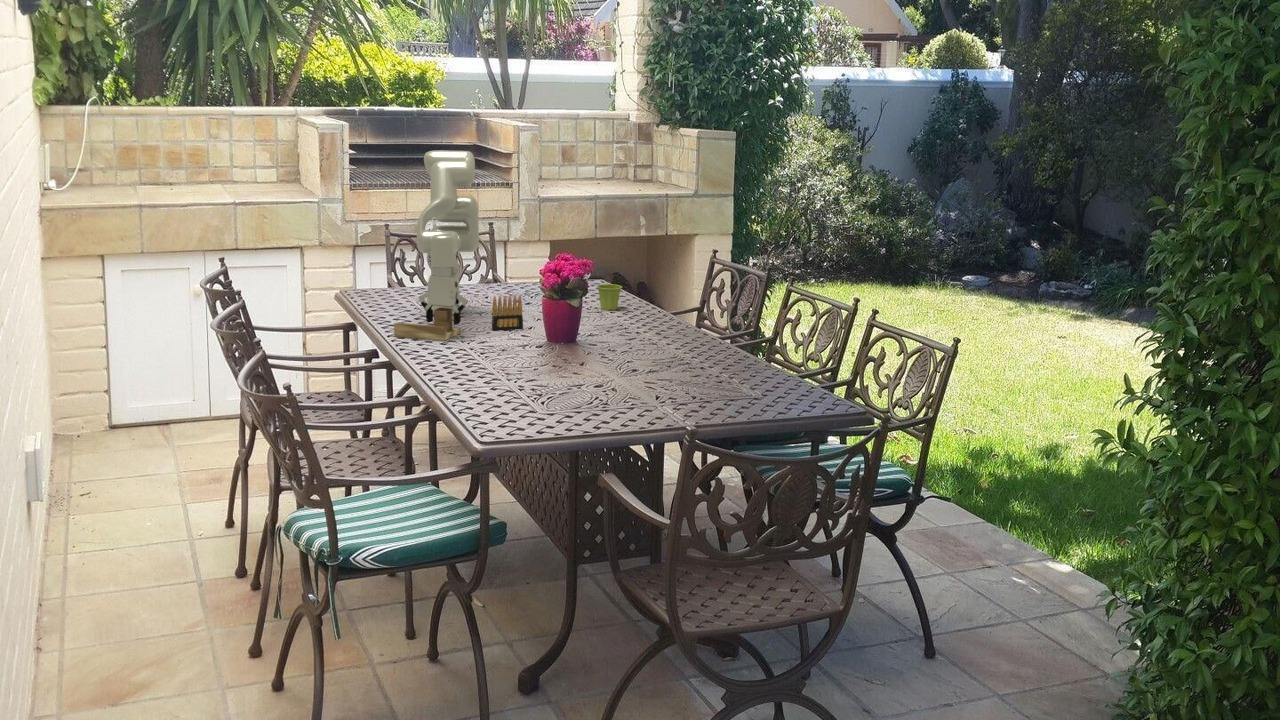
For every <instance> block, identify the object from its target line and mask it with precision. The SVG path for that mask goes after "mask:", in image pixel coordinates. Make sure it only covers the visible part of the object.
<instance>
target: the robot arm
mask: <svg viewBox="0 0 1280 720" xmlns="http://www.w3.org/2000/svg"><path fill="white" fill-rule="evenodd" d="M423 155H424V157H423V163H424V167H425V170H426V172H427V173H428V175H429V178H430V201H429V202H430V203H429V204H428V205H427V206H425V208H424V209H423V210H422V212H421V213H420V215H419V217H418V219H417V223H416V224H417V225H416V246H417V249H418V251H419V252H420V253H423V254H430V270H431V271H430V275H429V276H428V277H429V278H428V281H427V292H426V293H423V294H421V295H419V296H418V300H419V302H420V305H421V306H422V307H423V308H424V311H426V312H425V318H426V322H427V323H431V322H434V310H436V309H438V308H450V309H452V316H454V322H453V325H455V326H456V325H458V324H460V323H461V321H462V320H461V319H462V318H461V316H462V315H461V314H463V313H464V312H465V308H466V306H467V304H468V302H469V300H468V298H466V297H464V296H463V295H461V294H460V263H459V261H458V260H457V258H456V257H455V253H472V252H473V253H474V252H476V251H477V250H478V248H479V242H480V241H479V239H480V235H479V234H480V233H479V231H480V229H479V228H480V227H479V226H480V225H479V224H480V222H479V206H478V205H479V203H478V202H477V199H476V198H475V197H473V196H471V195H458V191H457V189H458V186H459V187H461V186H462V187H465V186H466V187H470V186H472V184H473V183H474V179H475V173H476V171H475V170H476V168H475V167H476V161H475V156H474V154H473V153H472V152H471V151H467V150H447V149H446V150H443V149H440V150H430V151H427V152H425V153H424V154H423ZM433 218H434V219H435V220H436V222H440V223H463V224H464V225H450V224H449V225H448V224H447V225H443V224H442V225H436V226H434V227H432V228H431V230H426V226H427V224H428V222H429V221H431V220H432V219H433ZM425 298H426V299H427V302H426V300H425Z"/></svg>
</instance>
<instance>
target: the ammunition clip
mask: <svg viewBox="0 0 1280 720" xmlns="http://www.w3.org/2000/svg"><path fill="white" fill-rule="evenodd" d="M512 300H513V301H512ZM517 300H518V301H517ZM497 301H498V302H497ZM522 301H523V300H522V296H521V295H520V294H519V295H518V299H517V296H516V294H514V295H513V299H512V295H509V296H508V300H507V297H506V295H504V296H503V300H502V296H501V295H499V296H498V299H497V297H496V295H494V296H493V299H492V309H491V311H492V312H491V313H492V314H491V315H492V316H491V331H492V330H493V332H497V331H498V332H499V330H503V331H516V330H515V329H522V330H524V320H523V319H524V318H523V317H524V316H523V304H522V303H523V302H522Z"/></svg>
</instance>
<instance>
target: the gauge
mask: <svg viewBox="0 0 1280 720" xmlns="http://www.w3.org/2000/svg"><path fill="white" fill-rule="evenodd" d="M453 323H454V315H452V309H450V308H438V309H436V310H434V314H433V325H434V326H442V327H446V332H448V331H450V330H452V327H453Z"/></svg>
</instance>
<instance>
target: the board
mask: <svg viewBox="0 0 1280 720" xmlns="http://www.w3.org/2000/svg"><path fill="white" fill-rule="evenodd" d="M393 325H394V326H393V330H394V332H393V335H394V338H402V337H406V339H414V338H418V339H417V340H425V339H428V340H427V341H436V340H437V341H438V342H446V341H448V340H449V338H450V339H452V338H454V337H456V336H455V335H457V334H459V333H461V334H462V332H461V331H462V329H461V328H462V327H456V326H455V327H454V326H452V330H450V331H448V332H446V327H442V326H434V324H433V325H432V324H423V323H422V324H421V323H405V322H404V323H403V322H395V323H393ZM459 335H460V334H459ZM453 336H454V337H453ZM457 336H458V335H457ZM447 339H448V340H447ZM445 340H446V341H445Z"/></svg>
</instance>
